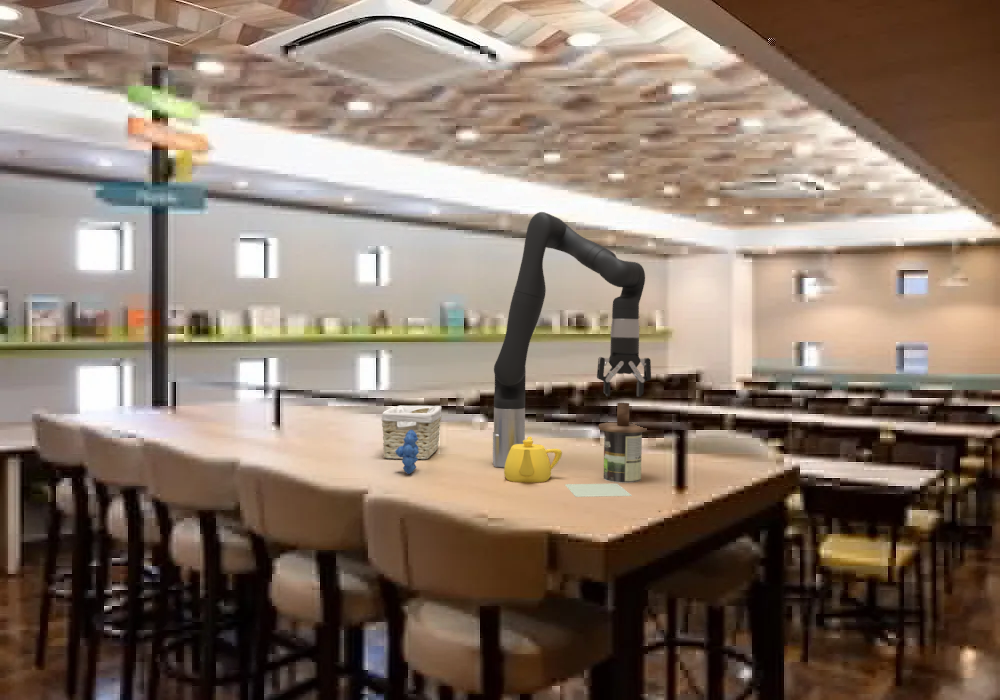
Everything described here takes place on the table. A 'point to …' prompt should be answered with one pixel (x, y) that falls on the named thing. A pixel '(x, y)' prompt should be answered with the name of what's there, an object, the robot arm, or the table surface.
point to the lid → (622, 422)
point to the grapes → (409, 451)
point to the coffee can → (622, 456)
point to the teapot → (529, 462)
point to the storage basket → (415, 419)
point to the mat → (597, 490)
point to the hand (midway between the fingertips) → (623, 396)
